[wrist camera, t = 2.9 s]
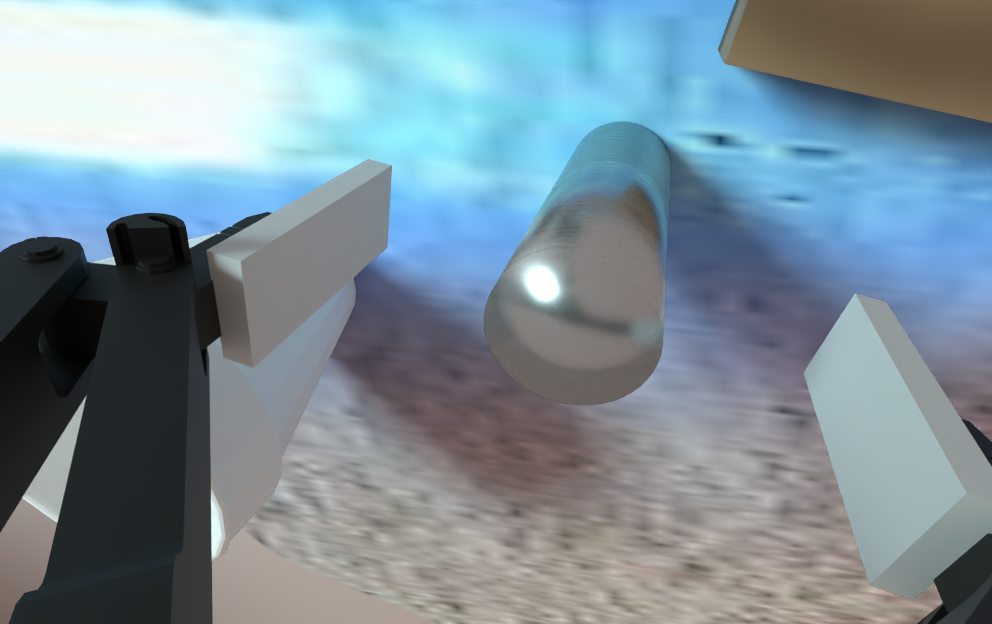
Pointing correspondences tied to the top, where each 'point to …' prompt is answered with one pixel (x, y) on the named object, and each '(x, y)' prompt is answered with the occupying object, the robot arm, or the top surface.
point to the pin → (589, 275)
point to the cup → (235, 420)
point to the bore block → (872, 48)
